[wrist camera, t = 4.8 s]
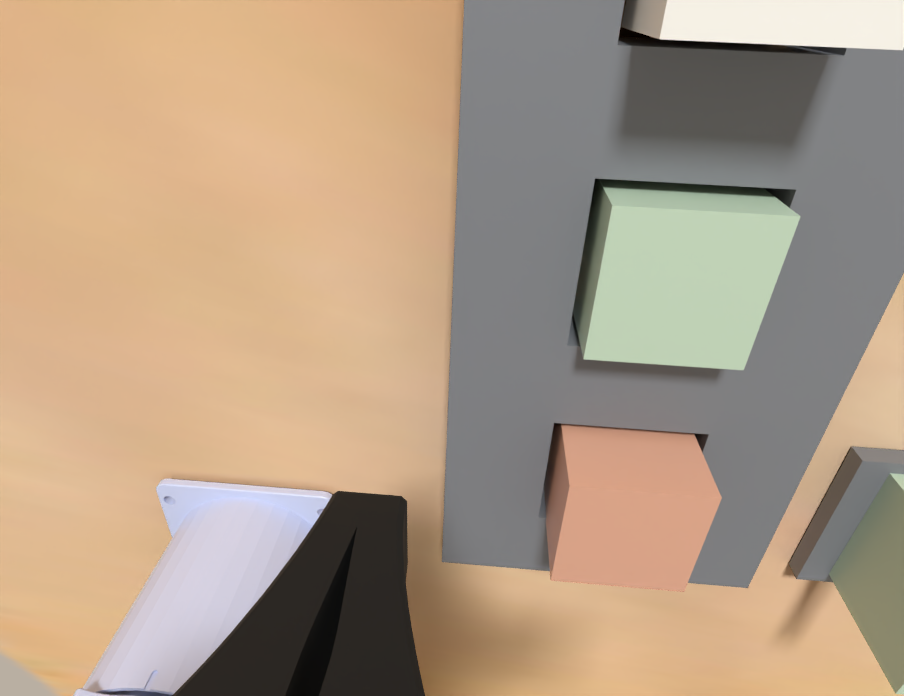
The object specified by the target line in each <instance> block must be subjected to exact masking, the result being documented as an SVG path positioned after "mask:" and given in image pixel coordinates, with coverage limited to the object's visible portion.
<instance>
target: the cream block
mask: <svg viewBox="0 0 904 696" xmlns="http://www.w3.org/2000/svg"><path fill="white" fill-rule="evenodd" d="M622 27H623V28H626V29H629V30H632V31H635V32H638V33H641V34H644V35H648V36H651V37H654V38H657V39H662V40H684V41H707V42H729V43H751V44H773V45H796V46H818V47H840V48H862V49H885V50H903V48H904V0H626V4H625V9H624V15H623V21H622Z"/></svg>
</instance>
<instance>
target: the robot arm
mask: <svg viewBox="0 0 904 696" xmlns="http://www.w3.org/2000/svg"><path fill="white" fill-rule="evenodd" d="M156 491H157V494H158V497H159V500H160V503H161V506H162V509H163V512H164V515H165V518H166V521H167V524H168V527H169V530H170V533H171V536H172V540H171V541H170V543H169V545H168V546H167V548H166V550H165V551H164V553H163V555H162V556H161V558H160V560H159V561H158V563H157V565H156V566H155V568H154V570H153V571H152V573H151V575H150V576H149V578H148V580H147V581H146V583H145V585H144V586H143V588H142V590H141V591H140V593H139V595H138V596H137V598H136V600H135V601H134V603H133V605H132V606H131V608H130V610H129V611H128V613H127V615H126V616H125V618H124V620H123V621H122V623H121V625H120V627H119V628H118V630H117V632H116V633H115V635H114V637H113V638H112V640H111V642H110V643H109V645H108V647H107V648H106V650H105V652H104V653H103V655H102V657H101V658H100V660H99V662H98V663H97V665H96V667H95V668H94V670H93V672H92V673H91V675H90V677H89V678H88V680H87V682H86V683H85V685H84V687H83V688H79V689H77V690H76V691H75V693H74V695H73V696H425V693H424V689H423V685H422V680H421V675H420V671H419V666H418V661H417V656H416V650H415V645H414V639H413V634H412V628H411V621H410V615H409V608H408V600H407V591H406V573H407V563H408V558H407V501H406V500H405V499H404V498H403V497H402V496H393V495H380V494H368V493H355V492H343V491H337V492H336V493H335V494H333V495H332V494H330V493H328V492H325V491H315V490H303V489H290V488H278V487H266V486H253V485H241V484H228V483H216V482H203V481H191V480H179V479H163V480H161V481H160V483H159V484H158V486H157V487H156ZM323 509H324V510H323Z"/></svg>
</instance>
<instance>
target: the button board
mask: <svg viewBox="0 0 904 696" xmlns="http://www.w3.org/2000/svg"><path fill="white" fill-rule="evenodd" d="M624 2H625V0H464V23H463V48H462V73H461V98H460V123H459V148H458V173H457V198H456V223H455V248H454V273H453V298H452V323H451V348H450V373H449V398H448V423H447V448H446V473H445V498H444V523H443V548H442V562H449V563H461V564H473V565H484V566H496V567H508V568H520V569H531V570H543V571H550V566H549V554H548V542H547V530H546V507H545V495H544V485H545V479H546V473H547V467H548V457H549V451H550V445H551V439H552V433H553V427H554V423H561V424H575V425H588V426H602V427H615V428H629V429H642V430H656V431H669V432H683V433H694V435H695V437H696V439H697V442H698V444H699V446H700V448H701V451H702V453H703V455H704V458H705V460H706V462H707V465H708V467H709V469H710V472H711V474H712V476H713V479H714V481H715V483H716V486H717V488H718V490H719V493H720V495H721V497H722V499H721V501H720V504H719V506H718V509H717V511H716V514H715V516H714V519H713V521H712V524H711V526H710V529H709V531H708V534H707V536H706V539H705V541H704V544H703V546H702V549H701V551H700V553H699V556H698V558H697V561H696V563H695V566H694V568H693V571H692V573H691V576H690V578H689V581H688V583H696V584H708V585H719V586H731V587H743V588H748V586H749V584H750V582H751V580H752V578H753V576H754V574H755V572H756V570H757V568H758V566H759V564H760V562H761V560H762V558H763V556H764V554H765V552H766V550H767V548H768V545H769V543H770V541H771V539H772V537H773V535H774V533H775V531H776V529H777V527H778V525H779V523H780V521H781V519H782V517H783V515H784V513H785V511H786V509H787V507H788V505H789V503H790V501H791V499H792V497H793V495H794V493H795V491H796V489H797V487H798V485H799V483H800V481H801V479H802V477H803V475H804V473H805V471H806V469H807V467H808V465H809V463H810V461H811V459H812V457H813V455H814V453H815V451H816V449H817V447H818V445H819V443H820V441H821V439H822V437H823V435H824V433H825V431H826V429H827V427H828V425H829V423H830V420H831V418H832V416H833V414H834V412H835V410H836V408H837V406H838V404H839V402H840V400H841V398H842V396H843V394H844V392H845V390H846V388H847V386H848V384H849V382H850V380H851V378H852V376H853V374H854V372H855V370H856V368H857V366H858V364H859V362H860V360H861V358H862V356H863V354H864V352H865V350H866V348H867V346H868V344H869V342H870V340H871V338H872V336H873V334H874V332H875V330H876V328H877V326H878V324H879V322H880V320H881V318H882V316H883V314H884V312H885V310H886V308H887V306H888V304H889V302H890V300H891V298H892V296H893V293H894V291H895V289H896V287H897V285H898V283H899V281H900V279H901V277H902V275H903V273H904V48H903V50H885V49H862V48H840V47H818V46H796V45H773V44H751V43H729V42H707V41H684V40H662V39H654V38H632V37H619V32H620V26H621V20H622V14H623V8H624ZM595 178H596V179H614V180H632V181H650V182H668V183H686V184H704V185H722V186H740V187H758V188H764V189H765V190H767V191H768V192H769V193H771V194H772V195H773V196H775V197H776V198H777V199H778V200H780V201H781V202H782V203H784V204H785V205H786V206H788V207H789V208H790V209H792V210H793V211H794V212H795V213H797V214H798V215H799V216H801V217H800V220H799V222H798V225H797V228H796V230H795V233H794V236H793V238H792V241H791V244H790V247H789V249H788V252H787V255H786V257H785V260H784V263H783V265H782V268H781V271H780V274H779V276H778V279H777V282H776V284H775V287H774V290H773V292H772V295H771V298H770V301H769V303H768V306H767V309H766V311H765V314H764V317H763V319H762V322H761V325H760V328H759V330H758V333H757V336H756V338H755V341H754V344H753V346H752V349H751V352H750V355H749V357H748V360H747V363H746V365H745V368H744V370H731V369H716V368H702V367H687V366H673V365H658V364H644V363H629V362H615V361H600V360H586V359H583V355H582V350H581V346H580V341H579V337H578V332H577V328H576V323H575V319H574V314H573V307H574V301H575V295H576V289H577V283H578V277H579V271H580V265H581V259H582V253H583V247H584V241H585V235H586V229H587V223H588V218H589V212H590V206H591V200H592V194H593V188H594V182H595Z"/></svg>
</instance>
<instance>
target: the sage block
mask: <svg viewBox="0 0 904 696" xmlns="http://www.w3.org/2000/svg"><path fill="white" fill-rule="evenodd" d="M800 217H801V216H799V215H798V214H797V213H795V212H794V211H793V210H792V209H790V208H789V207H788V206H786V205H785V204H784V203H782V202H781V201H780V200H778V199H777V198H776V197H775V196H773V195H772V194H771V193H769V192H768V191H767V190H765V189H764V188H758V187H740V186H722V185H704V184H686V183H668V182H650V181H632V180H614V179H596V178H595V182H594V188H593V194H592V200H591V206H590V212H589V218H588V223H587V229H586V235H585V241H584V247H583V253H582V259H581V265H580V271H579V277H578V283H577V289H576V295H575V301H574V307H573V314H574V319H575V323H576V328H577V332H578V337H579V341H580V346H581V350H582V355H583V359H586V360H600V361H615V362H629V363H644V364H658V365H673V366H687V367H702V368H716V369H731V370H744V368H745V365H746V363H747V360H748V357H749V355H750V352H751V349H752V346H753V344H754V341H755V338H756V336H757V333H758V330H759V328H760V325H761V322H762V319H763V317H764V314H765V311H766V309H767V306H768V303H769V301H770V298H771V295H772V292H773V290H774V287H775V284H776V282H777V279H778V276H779V274H780V271H781V268H782V265H783V263H784V260H785V257H786V255H787V252H788V249H789V247H790V244H791V241H792V238H793V236H794V233H795V230H796V228H797V225H798V222H799V220H800Z"/></svg>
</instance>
